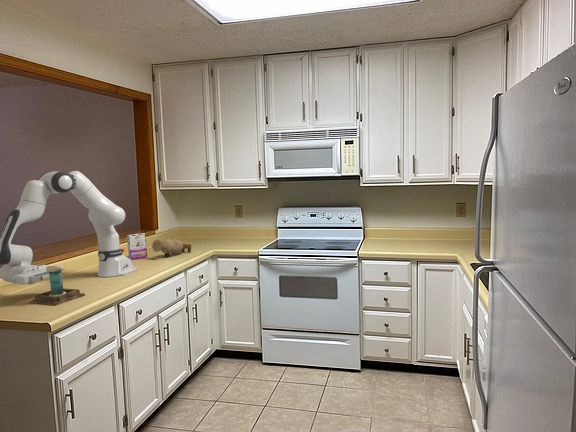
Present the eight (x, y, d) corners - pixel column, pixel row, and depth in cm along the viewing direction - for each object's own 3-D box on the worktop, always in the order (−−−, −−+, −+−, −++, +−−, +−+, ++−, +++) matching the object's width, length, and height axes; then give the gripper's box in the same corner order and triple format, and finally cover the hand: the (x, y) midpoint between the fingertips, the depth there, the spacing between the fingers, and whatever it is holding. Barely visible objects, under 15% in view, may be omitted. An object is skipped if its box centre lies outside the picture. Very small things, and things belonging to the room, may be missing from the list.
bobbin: (58, 294, 211) (55, 264, 209) (69, 295, 208) (66, 265, 207) (45, 298, 204) (42, 268, 203) (56, 299, 202) (53, 268, 200)
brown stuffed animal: (180, 257, 320) (150, 256, 293) (181, 239, 320) (151, 238, 294) (192, 257, 315) (162, 257, 288) (193, 240, 316) (163, 238, 289)
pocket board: (59, 293, 217) (59, 287, 216) (84, 295, 210) (84, 289, 210) (29, 302, 202) (29, 296, 202) (55, 305, 196) (55, 298, 195)
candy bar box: (145, 256, 306) (143, 232, 304) (147, 257, 302) (145, 233, 300) (128, 259, 299) (126, 234, 298) (130, 260, 295) (128, 235, 294)
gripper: (7, 272, 202) (29, 274, 197) (46, 263, 221) (67, 264, 215) (8, 286, 202) (30, 288, 197) (47, 276, 221) (68, 277, 216)
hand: (50, 276), depth 206 cm, fingers open, 8 cm apart
